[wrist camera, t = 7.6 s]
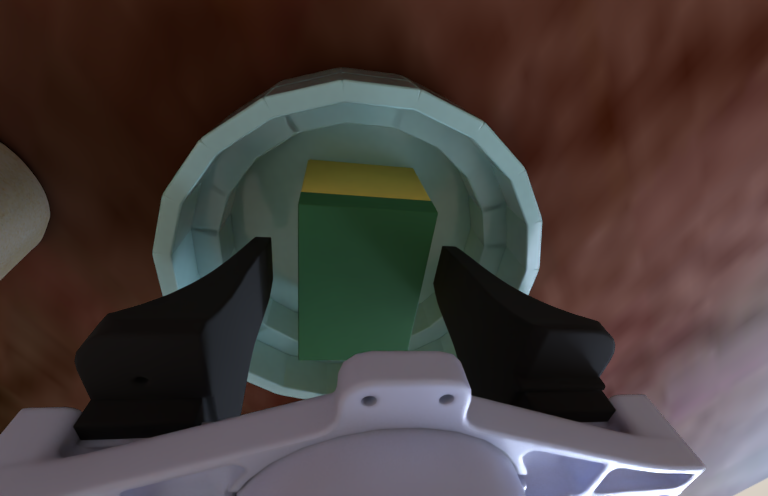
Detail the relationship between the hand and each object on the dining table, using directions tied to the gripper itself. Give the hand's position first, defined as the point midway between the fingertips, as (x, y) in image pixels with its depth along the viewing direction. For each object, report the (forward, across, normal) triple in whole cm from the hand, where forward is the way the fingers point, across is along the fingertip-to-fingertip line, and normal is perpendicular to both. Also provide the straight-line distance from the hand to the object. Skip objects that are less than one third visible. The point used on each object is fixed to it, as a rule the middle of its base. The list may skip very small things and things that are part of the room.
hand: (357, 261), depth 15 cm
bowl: (+3, 0, 0) cm, 3 cm away
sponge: (+2, 0, 0) cm, 2 cm away
